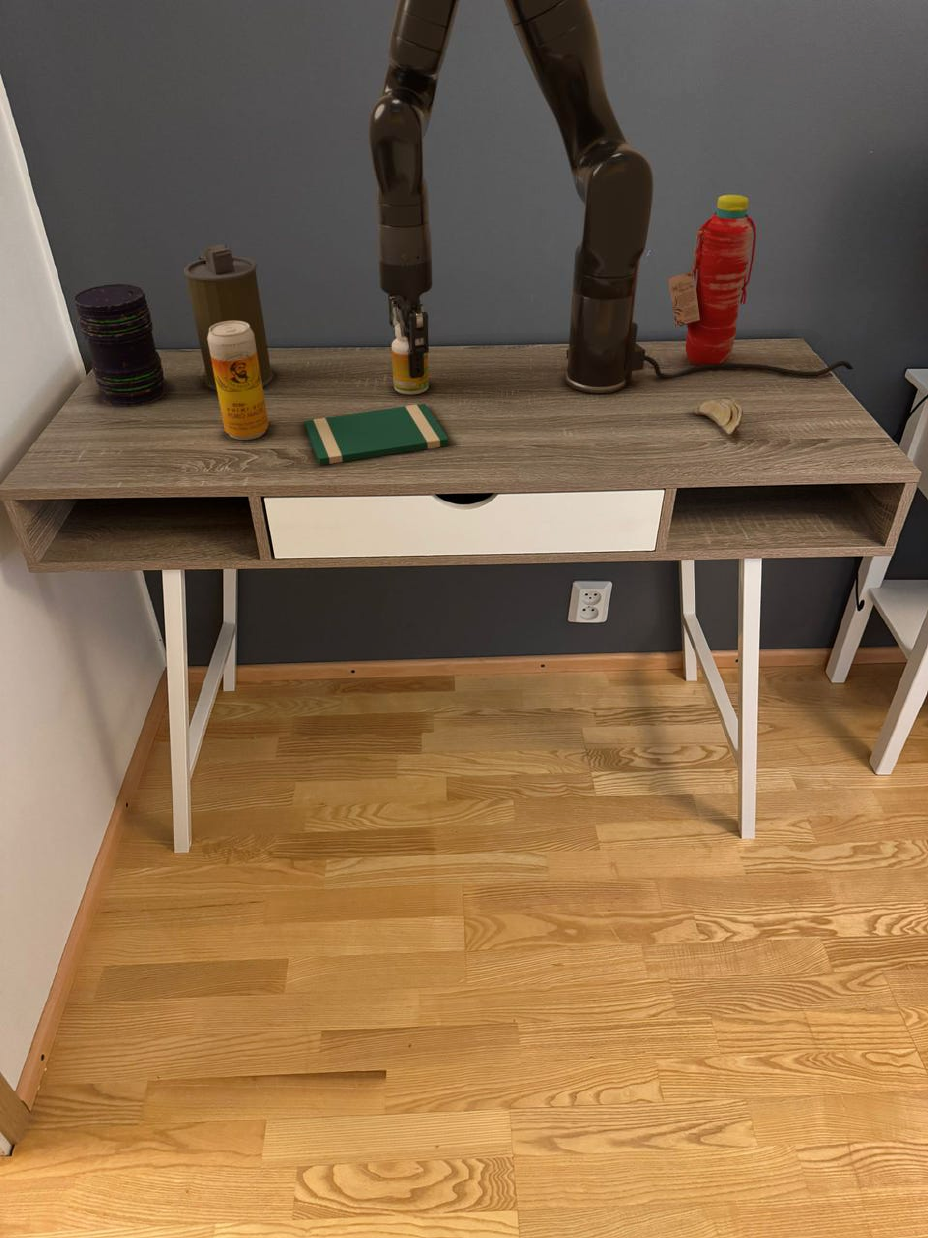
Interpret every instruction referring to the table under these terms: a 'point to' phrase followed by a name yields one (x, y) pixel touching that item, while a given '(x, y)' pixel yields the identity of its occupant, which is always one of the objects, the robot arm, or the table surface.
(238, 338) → the beer can
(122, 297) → the dark cylinder
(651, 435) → the table surface
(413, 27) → the robot arm
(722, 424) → the dumpling
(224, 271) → the canister
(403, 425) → the towel
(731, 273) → the water bottle
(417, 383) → the supplement bottle
